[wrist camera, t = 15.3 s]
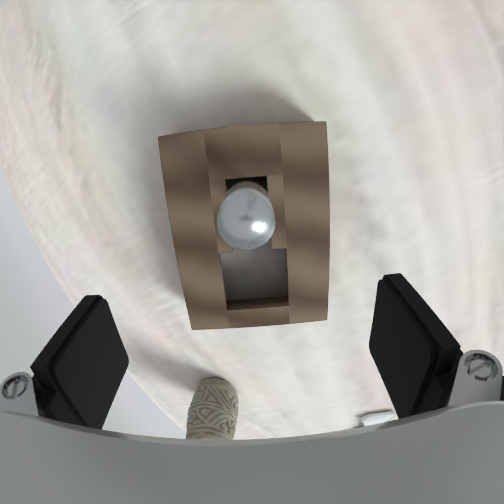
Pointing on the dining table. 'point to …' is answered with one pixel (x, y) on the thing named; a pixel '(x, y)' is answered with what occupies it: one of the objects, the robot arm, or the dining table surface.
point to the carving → (213, 411)
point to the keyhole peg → (246, 213)
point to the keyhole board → (284, 206)
